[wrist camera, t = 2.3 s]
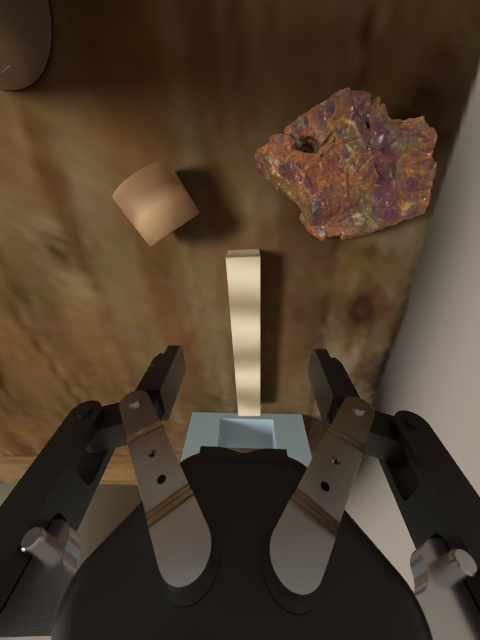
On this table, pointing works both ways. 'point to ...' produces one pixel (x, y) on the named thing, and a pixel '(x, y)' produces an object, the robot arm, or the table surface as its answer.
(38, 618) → the robot arm
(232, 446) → the light blue notched block
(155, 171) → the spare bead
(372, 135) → the mineral specimen
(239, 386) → the long cream stick
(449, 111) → the table surface
